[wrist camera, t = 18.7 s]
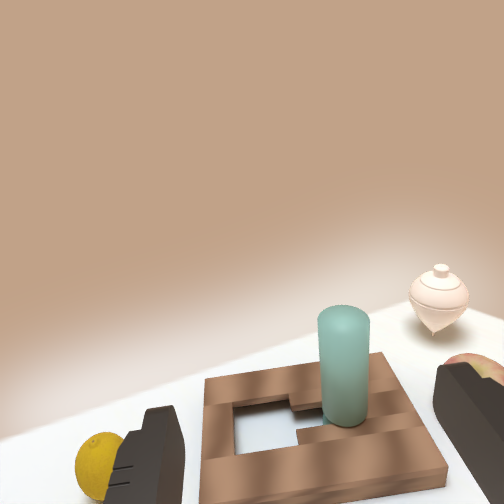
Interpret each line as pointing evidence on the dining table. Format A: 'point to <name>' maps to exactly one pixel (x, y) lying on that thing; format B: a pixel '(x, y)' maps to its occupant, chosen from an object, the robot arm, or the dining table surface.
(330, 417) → the headed peg
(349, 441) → the keyhole plate
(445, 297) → the spinning top
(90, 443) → the lemon
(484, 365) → the apple
